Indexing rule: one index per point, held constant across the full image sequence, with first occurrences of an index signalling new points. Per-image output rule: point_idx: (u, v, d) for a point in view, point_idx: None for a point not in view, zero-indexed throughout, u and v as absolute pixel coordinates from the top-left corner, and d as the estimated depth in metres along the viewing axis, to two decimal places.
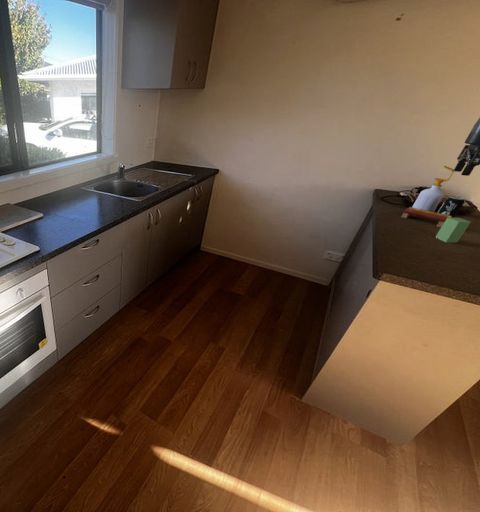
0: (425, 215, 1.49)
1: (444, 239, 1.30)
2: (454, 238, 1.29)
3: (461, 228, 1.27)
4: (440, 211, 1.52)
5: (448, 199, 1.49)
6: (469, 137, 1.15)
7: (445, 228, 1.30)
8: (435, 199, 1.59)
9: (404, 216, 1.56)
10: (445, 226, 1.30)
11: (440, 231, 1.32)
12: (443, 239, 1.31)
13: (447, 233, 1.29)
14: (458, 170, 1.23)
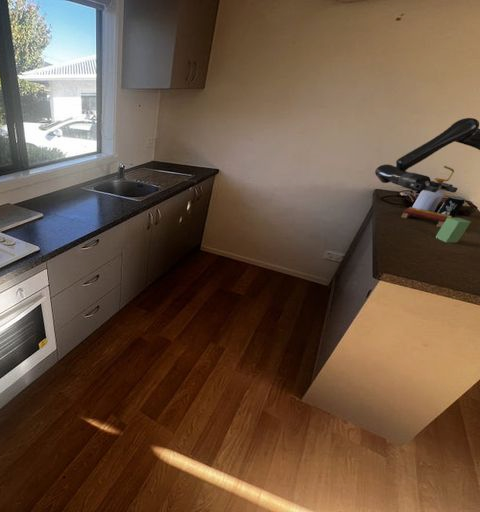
0: (425, 215, 1.49)
1: (444, 239, 1.30)
2: (454, 238, 1.29)
3: (461, 228, 1.27)
4: (440, 211, 1.52)
5: (448, 199, 1.49)
6: (411, 189, 1.46)
7: (445, 228, 1.30)
8: (435, 199, 1.59)
9: (404, 216, 1.56)
10: (445, 226, 1.30)
11: (440, 231, 1.32)
12: (443, 239, 1.31)
13: (447, 233, 1.29)
14: (454, 189, 1.32)
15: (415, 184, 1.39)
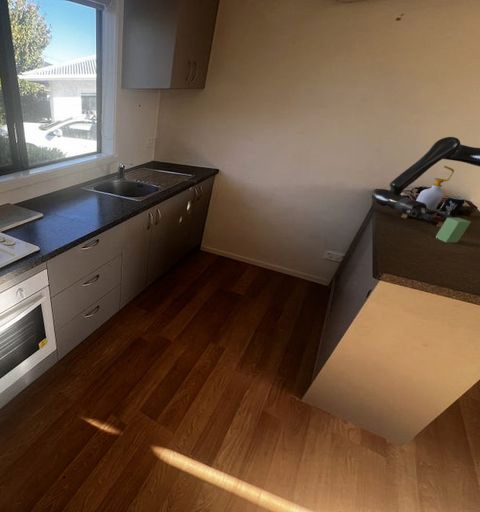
0: None
1: (444, 239, 1.30)
2: (454, 238, 1.29)
3: (461, 228, 1.27)
4: None
5: (448, 199, 1.49)
6: None
7: (445, 228, 1.30)
8: (435, 199, 1.59)
9: (404, 216, 1.56)
10: (445, 226, 1.30)
11: (440, 231, 1.32)
12: (443, 239, 1.31)
13: (447, 233, 1.29)
14: None
15: (411, 211, 1.40)
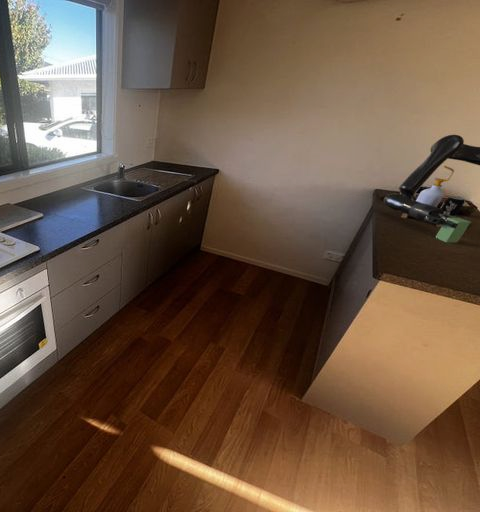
0: None
1: (444, 239, 1.30)
2: (454, 238, 1.29)
3: (461, 228, 1.27)
4: None
5: (448, 199, 1.49)
6: None
7: (445, 228, 1.30)
8: (435, 199, 1.59)
9: (404, 216, 1.56)
10: (445, 226, 1.30)
11: (440, 231, 1.32)
12: (443, 239, 1.31)
13: (447, 233, 1.29)
14: None
15: (431, 218, 1.32)
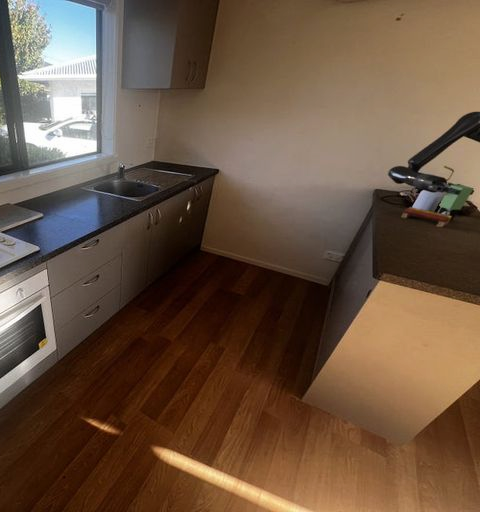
0: (425, 215, 1.49)
1: (448, 206, 1.34)
2: (457, 205, 1.32)
3: (464, 195, 1.30)
4: (440, 211, 1.52)
5: None
6: None
7: (449, 196, 1.33)
8: (435, 199, 1.59)
9: (404, 216, 1.56)
10: (449, 194, 1.33)
11: (444, 199, 1.35)
12: (447, 206, 1.34)
13: (450, 200, 1.33)
14: None
15: (435, 186, 1.36)
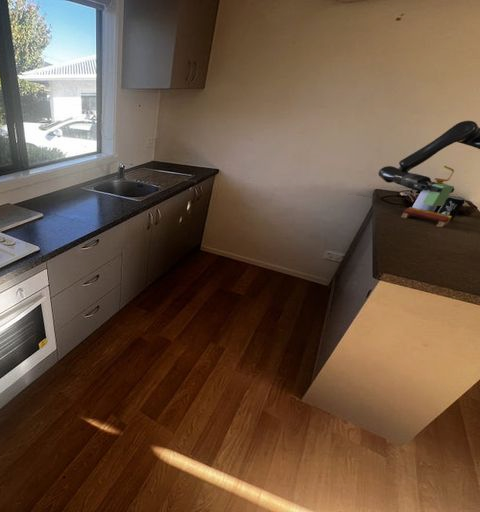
0: (425, 215, 1.49)
1: (431, 203, 1.46)
2: (439, 202, 1.45)
3: (445, 192, 1.42)
4: (440, 211, 1.52)
5: (448, 199, 1.49)
6: None
7: (432, 193, 1.46)
8: None
9: (404, 216, 1.56)
10: (432, 192, 1.46)
11: (427, 196, 1.48)
12: (430, 203, 1.47)
13: (433, 198, 1.45)
14: None
15: (420, 185, 1.48)
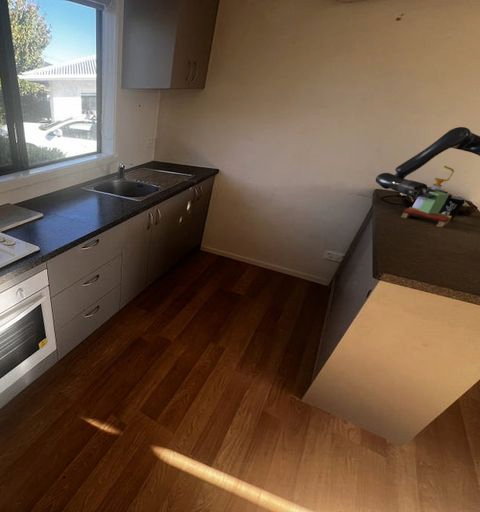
0: (425, 215, 1.49)
1: (426, 211, 1.48)
2: (435, 209, 1.47)
3: (441, 200, 1.44)
4: (440, 211, 1.52)
5: (448, 199, 1.49)
6: (410, 195, 1.58)
7: (427, 201, 1.48)
8: None
9: (404, 216, 1.56)
10: (427, 199, 1.48)
11: (423, 204, 1.50)
12: (425, 211, 1.49)
13: (429, 205, 1.47)
14: (448, 196, 1.44)
15: (413, 191, 1.51)
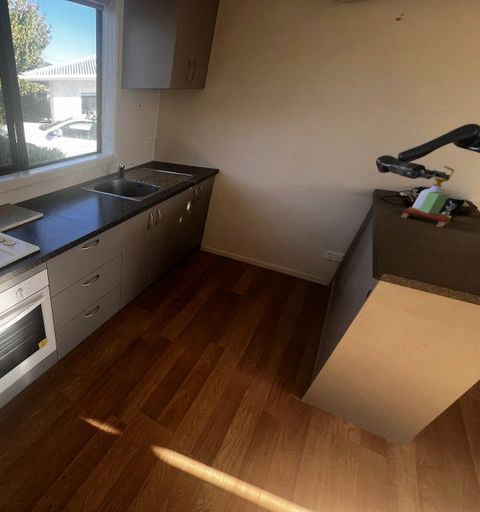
0: (425, 215, 1.49)
1: (426, 211, 1.48)
2: (435, 209, 1.47)
3: (441, 200, 1.44)
4: (440, 211, 1.52)
5: (448, 199, 1.49)
6: (408, 177, 1.59)
7: (427, 201, 1.48)
8: None
9: (404, 216, 1.56)
10: (427, 199, 1.48)
11: (423, 204, 1.50)
12: (425, 211, 1.49)
13: (429, 205, 1.47)
14: (446, 176, 1.45)
15: (411, 172, 1.52)
